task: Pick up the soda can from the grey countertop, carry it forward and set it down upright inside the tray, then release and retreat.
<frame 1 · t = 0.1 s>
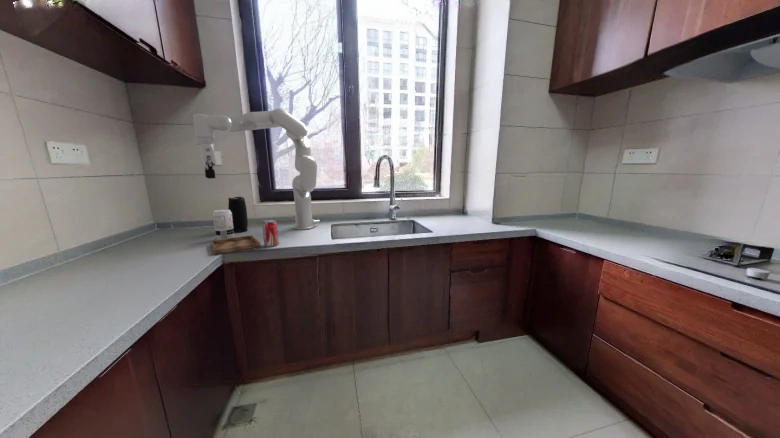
hand: (210, 177, 132), 31 cm above the worktop, tool pointing down, fingers open, 9 cm apart
tray: (235, 246, 127), on the worktop
supplement can: (225, 239, 139), on the worktop
portable speaker: (240, 231, 156), on the worktop
soda can: (271, 245, 129), on the worktop
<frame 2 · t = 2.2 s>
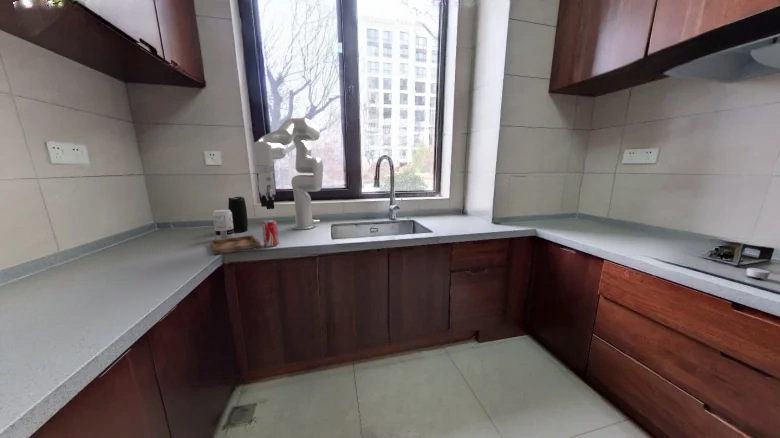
hand: (267, 207, 125), 18 cm above the worktop, tool pointing down, fingers open, 9 cm apart
nothing on the worktop moved.
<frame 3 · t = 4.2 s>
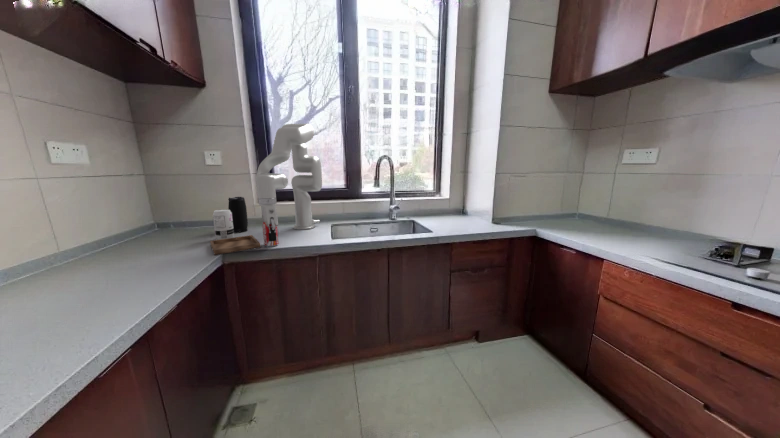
hand: (270, 239, 128), 3 cm above the worktop, tool pointing down, fingers closed on soda can, 5 cm apart
soda can: (271, 245, 129), on the worktop, touching gripper
everything else where it was.
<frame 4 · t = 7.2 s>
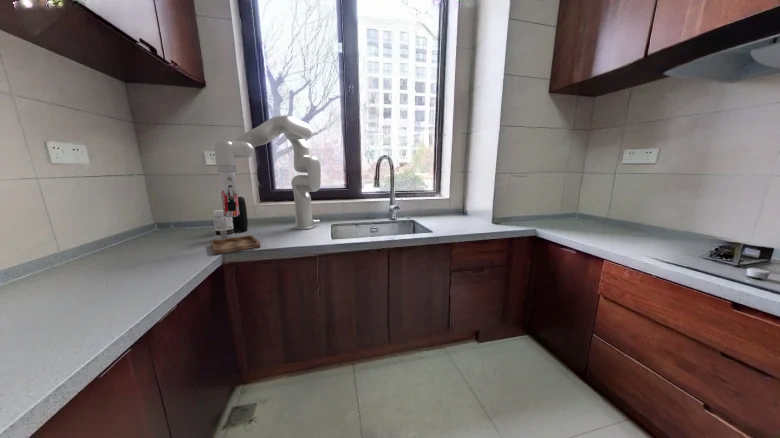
hand: (231, 209, 123), 18 cm above the worktop, tool pointing down, fingers closed on soda can, 5 cm apart
soda can: (232, 216, 124), point 14 cm above the worktop, touching gripper
everything else where it was.
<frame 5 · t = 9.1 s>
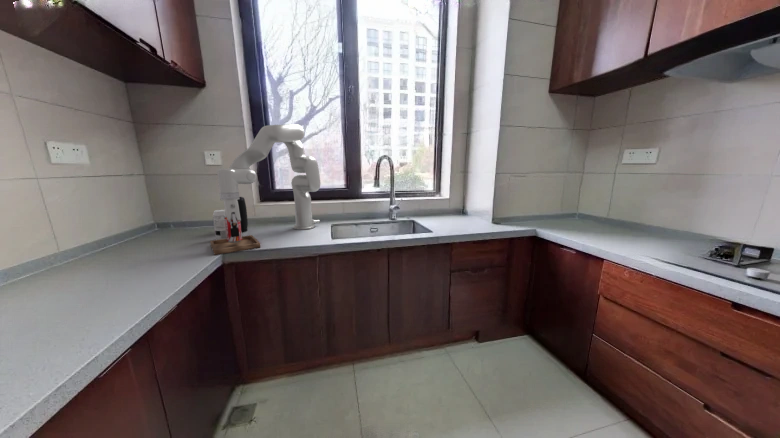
hand: (234, 234, 125), 6 cm above the worktop, tool pointing down, fingers closed on soda can, 5 cm apart
soda can: (234, 241, 126), point 2 cm above the worktop, touching gripper
everything else where it was.
when the fingers open (5 cm above the worktop, at t = 10.3 s): soda can moves 1 cm, resting on tray.
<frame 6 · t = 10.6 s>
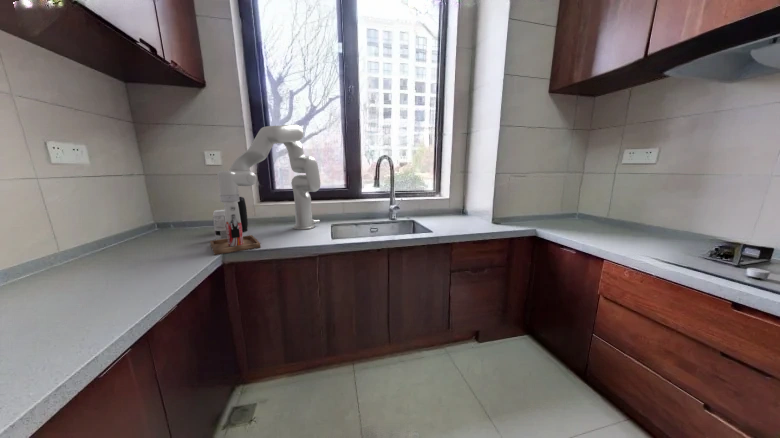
hand: (234, 235, 126), 5 cm above the worktop, tool pointing down, fingers open, 9 cm apart
soda can: (236, 246, 126), resting on tray
everything else where it was.
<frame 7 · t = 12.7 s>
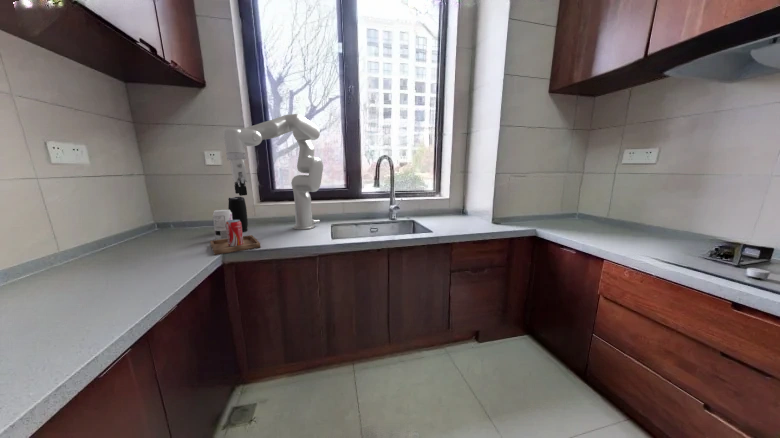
hand: (241, 194, 127), 24 cm above the worktop, tool pointing down, fingers open, 9 cm apart
nothing on the worktop moved.
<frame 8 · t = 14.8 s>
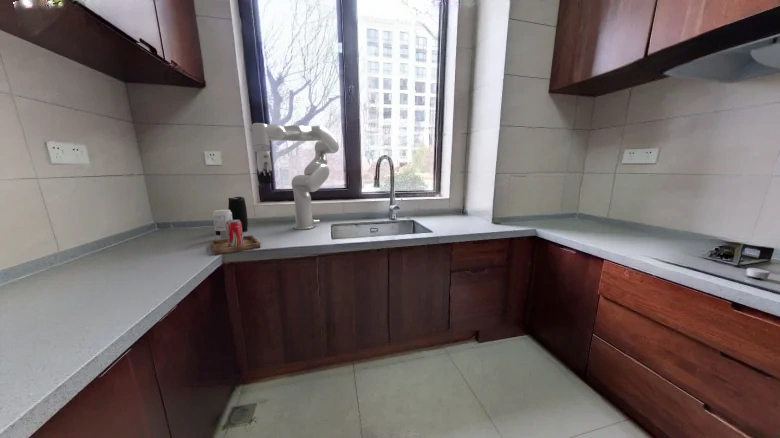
hand: (265, 182, 140), 28 cm above the worktop, tool pointing down, fingers open, 9 cm apart
nothing on the worktop moved.
at the end: soda can inside the target area on the tray (0.9 cm from its centre), point 0.4 cm above the tray's base; soda can tilted 0°; the gripper is holding nothing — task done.
